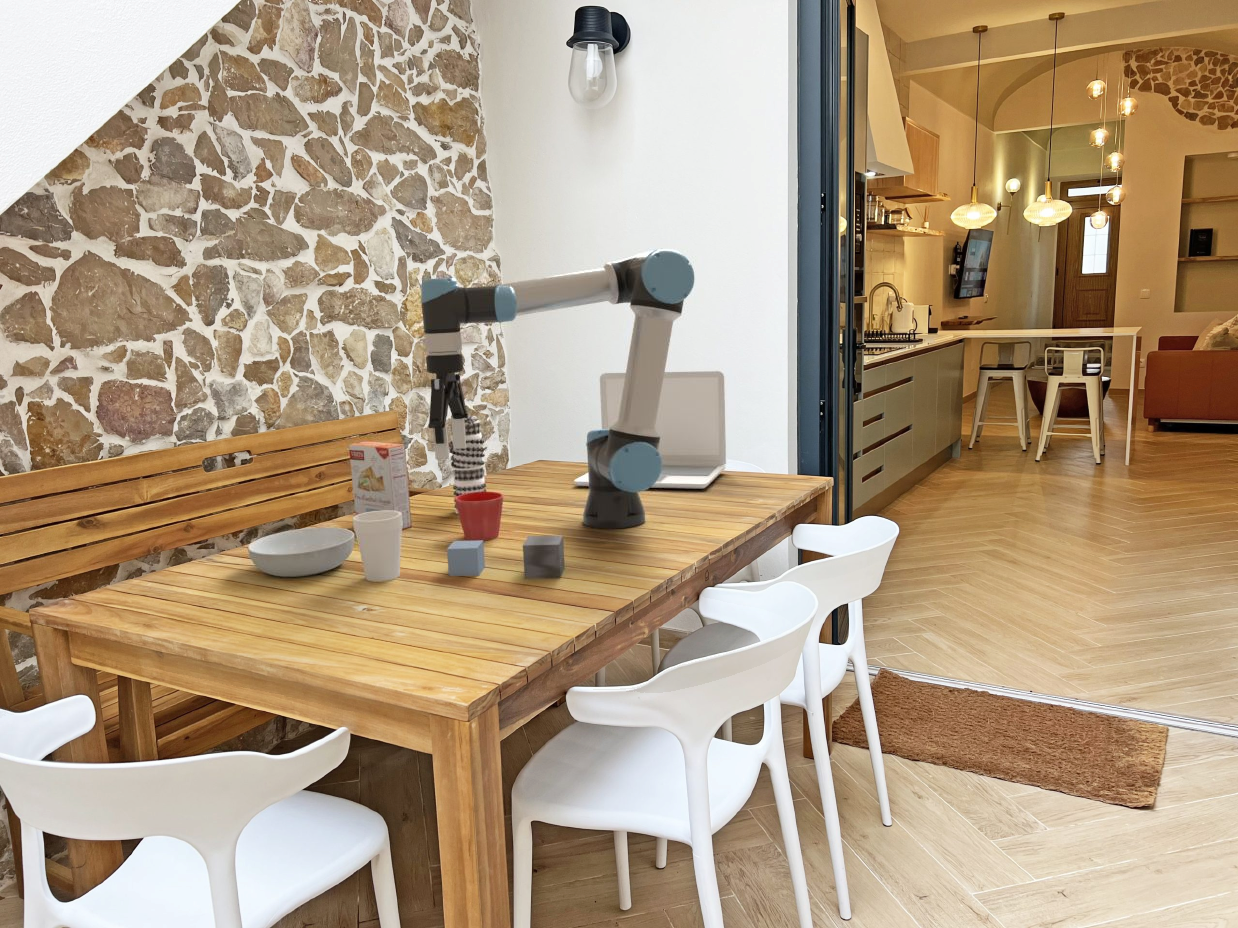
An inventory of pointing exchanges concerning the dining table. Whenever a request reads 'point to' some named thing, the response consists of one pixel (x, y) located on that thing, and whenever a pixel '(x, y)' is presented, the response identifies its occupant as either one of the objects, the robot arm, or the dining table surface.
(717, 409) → the laptop
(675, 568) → the dining table surface
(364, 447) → the cracker box
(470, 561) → the slate-blue block
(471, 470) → the black and white cylinder
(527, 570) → the charcoal block
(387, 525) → the foam cup
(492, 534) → the flower pot
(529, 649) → the dining table surface
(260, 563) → the serving bowl
